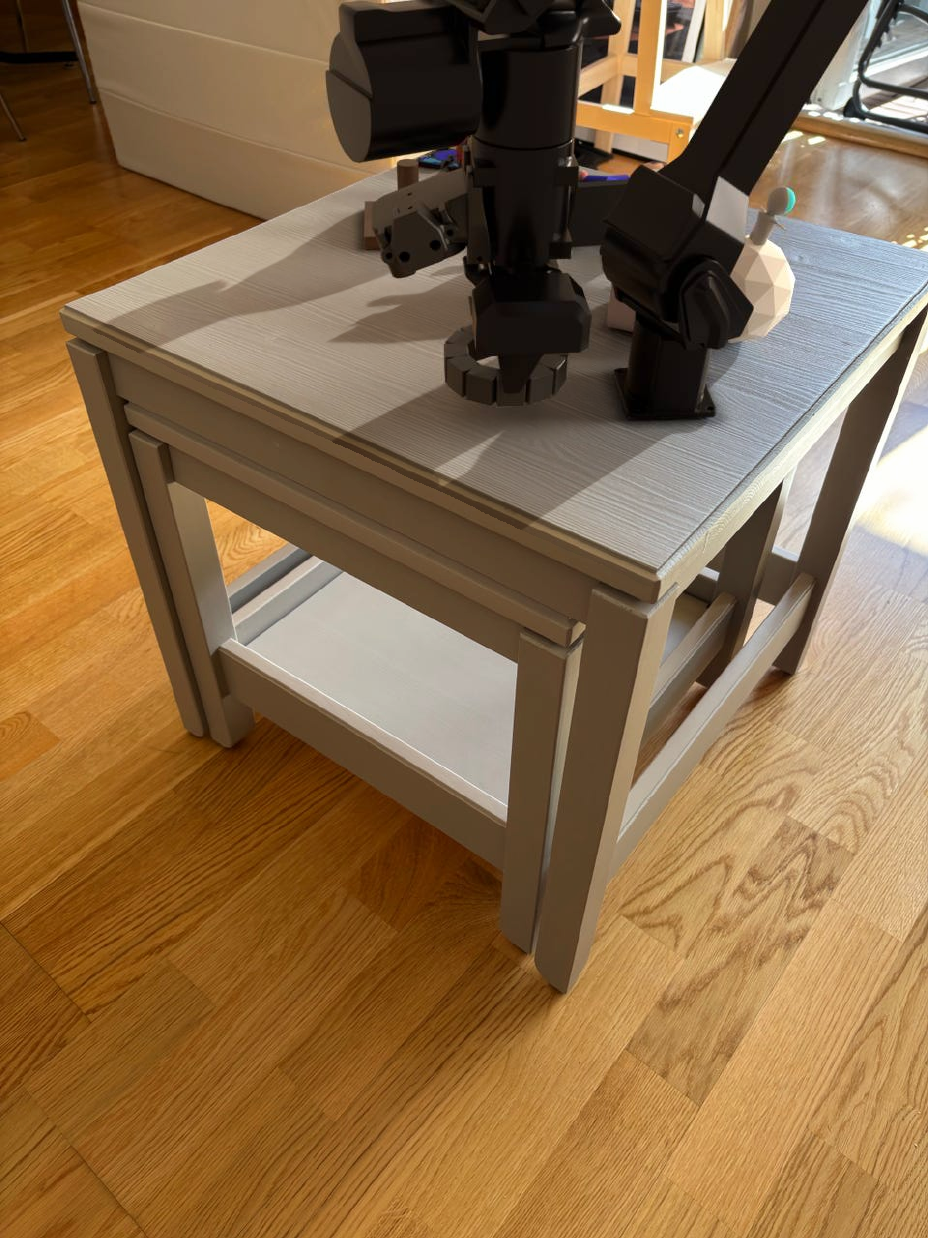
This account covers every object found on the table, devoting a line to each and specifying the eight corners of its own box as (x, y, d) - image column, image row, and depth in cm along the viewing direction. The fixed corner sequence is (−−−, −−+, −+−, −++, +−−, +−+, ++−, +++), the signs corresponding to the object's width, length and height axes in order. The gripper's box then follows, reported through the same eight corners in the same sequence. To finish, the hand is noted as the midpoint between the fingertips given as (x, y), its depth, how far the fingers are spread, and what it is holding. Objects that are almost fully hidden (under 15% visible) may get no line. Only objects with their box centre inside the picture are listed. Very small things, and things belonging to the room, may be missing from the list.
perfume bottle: (777, 370, 77) (863, 223, 69) (690, 352, 74) (770, 197, 66) (738, 322, 82) (813, 181, 74) (655, 303, 79) (724, 155, 71)
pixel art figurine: (466, 173, 103) (504, 138, 111) (466, 169, 103) (504, 135, 111) (415, 164, 105) (455, 130, 113) (415, 160, 105) (455, 127, 113)
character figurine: (515, 234, 93) (663, 225, 95) (532, 260, 87) (689, 250, 89) (518, 146, 88) (675, 139, 90) (537, 168, 82) (703, 160, 84)
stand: (456, 247, 90) (456, 178, 85) (364, 249, 89) (360, 180, 85) (451, 211, 96) (451, 145, 91) (365, 213, 95) (361, 146, 91)
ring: (572, 405, 64) (575, 379, 63) (447, 408, 64) (447, 382, 62) (556, 344, 70) (558, 318, 69) (441, 346, 70) (441, 320, 68)
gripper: (375, 82, 59) (386, 320, 70) (375, 199, 46) (389, 470, 57) (555, 81, 60) (539, 317, 71) (607, 196, 46) (577, 465, 57)
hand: (510, 384), depth 64 cm, fingers closed on ring, 2 cm apart
